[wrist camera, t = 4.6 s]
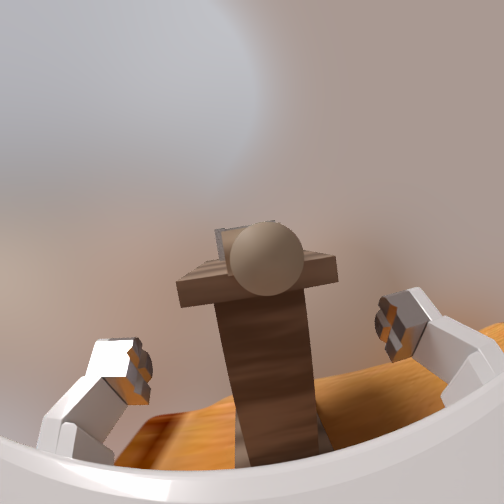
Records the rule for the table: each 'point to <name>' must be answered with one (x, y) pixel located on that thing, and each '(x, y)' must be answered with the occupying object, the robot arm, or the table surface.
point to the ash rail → (263, 257)
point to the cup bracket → (220, 243)
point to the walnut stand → (266, 360)
